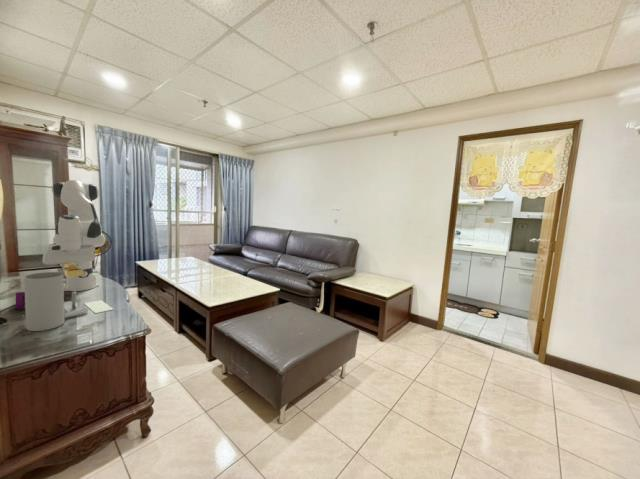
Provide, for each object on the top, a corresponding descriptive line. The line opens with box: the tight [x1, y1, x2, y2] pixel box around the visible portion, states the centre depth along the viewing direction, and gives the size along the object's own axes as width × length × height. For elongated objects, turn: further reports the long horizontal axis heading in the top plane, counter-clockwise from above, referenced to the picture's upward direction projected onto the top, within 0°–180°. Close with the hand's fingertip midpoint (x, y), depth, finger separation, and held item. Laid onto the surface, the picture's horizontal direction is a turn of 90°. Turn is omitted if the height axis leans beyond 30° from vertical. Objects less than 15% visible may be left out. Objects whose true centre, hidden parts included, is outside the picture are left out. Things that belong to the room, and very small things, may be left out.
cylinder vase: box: [23, 271, 65, 332], centre depth 121 cm, size 12×12×25 cm
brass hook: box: [63, 263, 83, 278], centre depth 137 cm, size 16×6×6 cm, turn 56°
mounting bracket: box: [15, 291, 25, 311], centre depth 143 cm, size 9×8×18 cm
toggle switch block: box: [64, 291, 89, 319], centre depth 139 cm, size 18×9×12 cm, turn 56°
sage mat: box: [83, 299, 114, 315], centre depth 148 cm, size 20×8×1 cm, turn 56°
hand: (70, 270), depth 138 cm, fingers closed on brass hook, 3 cm apart
